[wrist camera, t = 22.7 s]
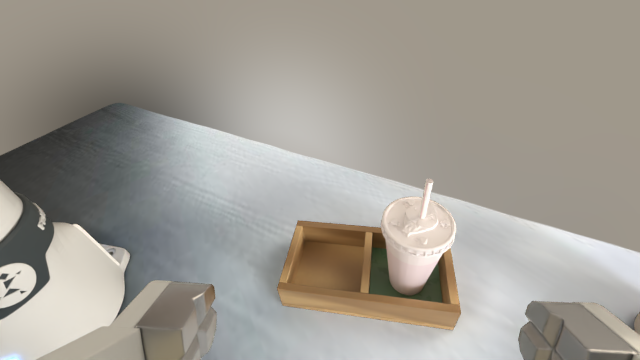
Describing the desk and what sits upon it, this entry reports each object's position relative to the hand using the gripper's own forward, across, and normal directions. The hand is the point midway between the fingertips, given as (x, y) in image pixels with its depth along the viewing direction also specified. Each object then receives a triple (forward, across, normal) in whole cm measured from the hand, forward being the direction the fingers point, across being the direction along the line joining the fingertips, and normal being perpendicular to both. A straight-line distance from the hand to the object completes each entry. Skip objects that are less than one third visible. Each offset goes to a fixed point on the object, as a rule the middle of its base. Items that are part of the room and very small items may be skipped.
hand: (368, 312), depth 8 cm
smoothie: (+22, -8, +14) cm, 28 cm away
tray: (+23, -4, +15) cm, 28 cm away
